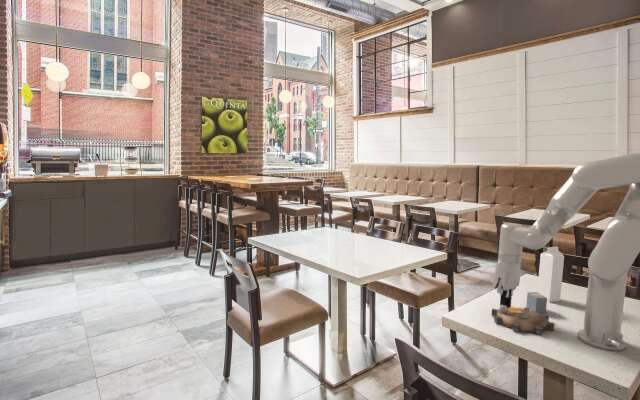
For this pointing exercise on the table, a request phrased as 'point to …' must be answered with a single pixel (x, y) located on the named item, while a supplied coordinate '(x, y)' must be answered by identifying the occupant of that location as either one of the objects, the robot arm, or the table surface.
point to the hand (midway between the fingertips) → (505, 306)
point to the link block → (536, 302)
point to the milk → (551, 274)
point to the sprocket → (522, 319)
